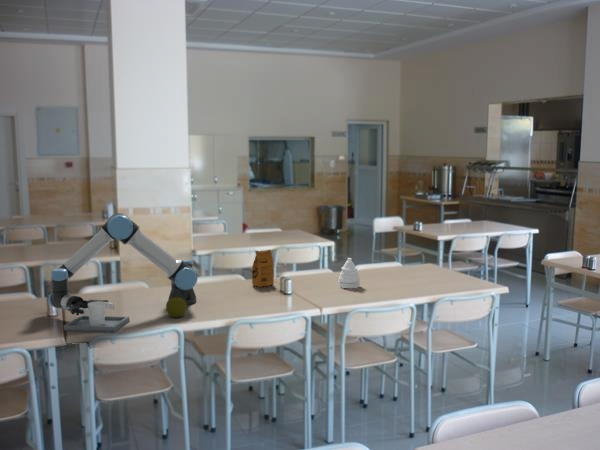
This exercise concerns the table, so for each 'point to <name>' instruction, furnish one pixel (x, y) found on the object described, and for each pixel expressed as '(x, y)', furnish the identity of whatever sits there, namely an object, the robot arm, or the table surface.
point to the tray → (84, 326)
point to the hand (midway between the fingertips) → (101, 309)
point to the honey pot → (349, 275)
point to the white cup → (97, 313)
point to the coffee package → (263, 269)
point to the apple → (176, 307)
